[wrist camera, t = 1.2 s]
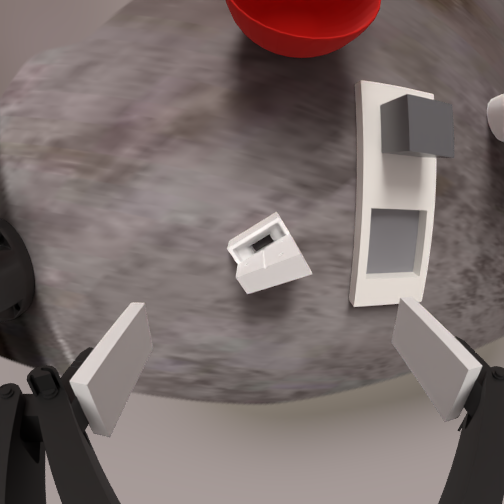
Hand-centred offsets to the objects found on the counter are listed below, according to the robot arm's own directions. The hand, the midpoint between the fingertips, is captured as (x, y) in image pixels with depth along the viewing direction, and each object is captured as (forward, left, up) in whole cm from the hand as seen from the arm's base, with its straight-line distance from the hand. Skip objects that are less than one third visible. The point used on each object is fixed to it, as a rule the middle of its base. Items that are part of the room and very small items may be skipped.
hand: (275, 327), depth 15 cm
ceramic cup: (+5, +25, -18) cm, 31 cm away
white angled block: (0, 0, -18) cm, 18 cm away
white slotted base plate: (+14, +5, -18) cm, 23 cm away
